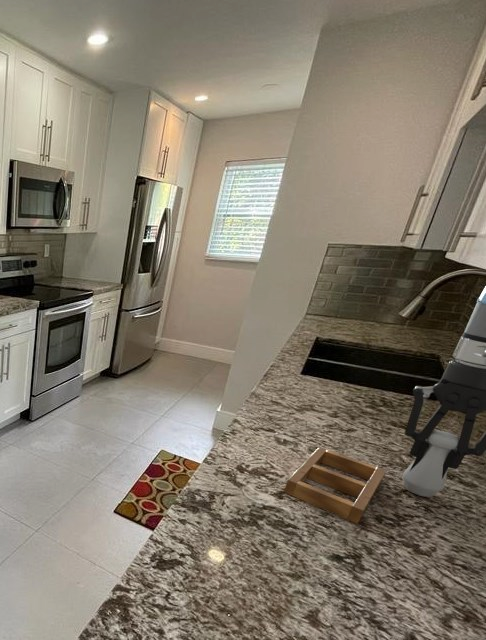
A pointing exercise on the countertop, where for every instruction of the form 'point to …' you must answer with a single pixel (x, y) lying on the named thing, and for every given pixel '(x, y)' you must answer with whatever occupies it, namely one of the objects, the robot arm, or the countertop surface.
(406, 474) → the salt shaker
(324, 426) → the countertop surface
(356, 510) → the frame
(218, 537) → the countertop surface
